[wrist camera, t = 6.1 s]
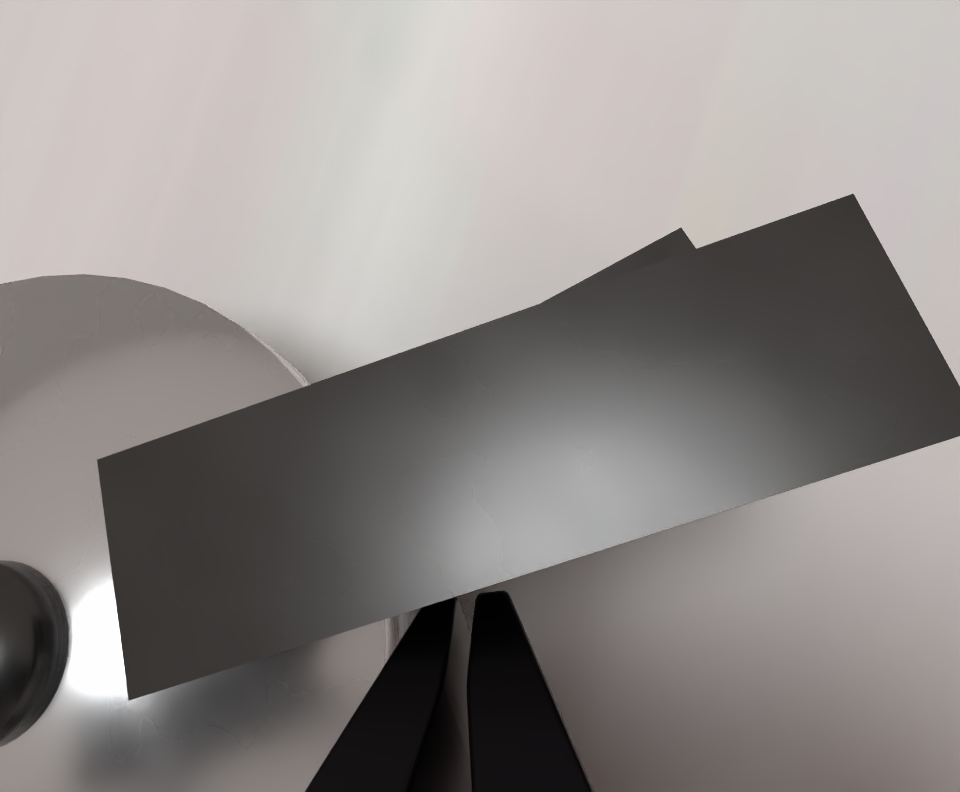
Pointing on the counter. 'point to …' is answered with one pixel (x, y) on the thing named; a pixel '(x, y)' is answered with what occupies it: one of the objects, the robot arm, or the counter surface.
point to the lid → (390, 483)
